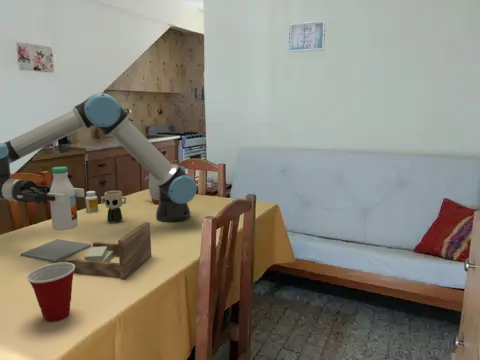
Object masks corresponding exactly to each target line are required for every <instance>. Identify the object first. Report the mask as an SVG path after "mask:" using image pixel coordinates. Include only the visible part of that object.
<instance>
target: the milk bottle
mask: <svg viewBox="0 0 480 360" xmlns="http://www.w3.org/2000/svg"><path fill="white" fill-rule="evenodd" d="M68 171H69V169H68V166H54V167H52V168H51V173H52V177H53V179H52V182H51V184H50V185H51V188H50V193H57V194H65V200H66V203H57V202H49V204H50V213H51V214H50V216H51V217H50V218H51V225H52V229H53V230H56V231H67V230H72V229H75V228H76V227H78V225H79V221H78V211H77V210H78V207H77V201H76V199H77V197H76V196H75V192H74V188H75V187H74V186H73V184H72V183H71V181H70V179H69V176H68V174H69V172H68Z"/></svg>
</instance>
